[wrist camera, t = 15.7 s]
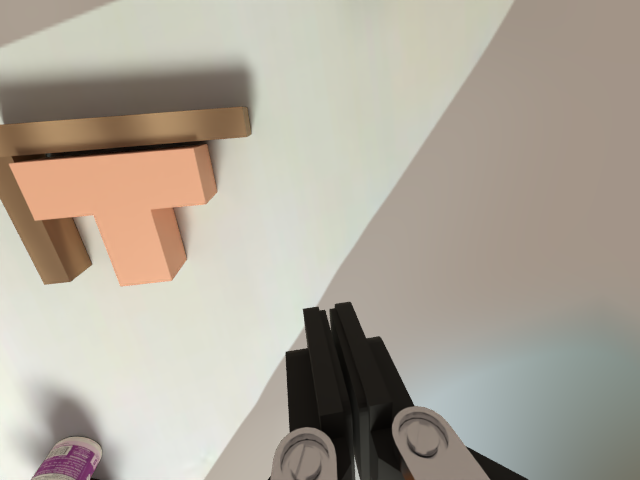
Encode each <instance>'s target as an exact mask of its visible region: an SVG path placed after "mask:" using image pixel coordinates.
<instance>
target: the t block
mask: <svg viewBox="0 0 640 480" xmlns="http://www.w3.org/2000/svg"><path fill="white" fill-rule="evenodd" d="M9 166H10V168H11V170H12V172H13V174H14V177H15V179H16V181H17V183H18V185H19V187H20V190H21V192H22V194H23V196H24V198H25V200H26V203H27V205H28V207H29V209H30V211H31V213H32V215H33V218H34V220H35V221H37V220H47V219H58V218H68V217H79V216H89V215H94V218H95V221H96V223H97V226H98V228H99V231H100V234H101V236H102V239H103V242H104V244H105V247H106V249H107V252H108V255H109V257H110V260H111V263H112V265H113V268H114V271H115V273H116V276H117V278H118V281H119V284H120V286H129V285H138V284H147V283H156V282H164V281H172V280H173V278H174V277H175V275H176V274H177V273H178V271H179V270H180V268H181V267H182V266H183V264H184V263H185V261H186V260H187V258H186V254H185V250H184V247H183V243H182V239H181V236H180V232H179V228H178V224H177V221H176V217H175V213H174V210H173V207H182V206H193V205H203V204H207V203H208V201H209V200H210V199H211V198H212V197H213V196H214V195H215V194H216V193H217V188H216V183H215V179H214V174H213V169H212V164H211V160H210V155H209V150H208V145H207V144H201V145H188V146H176V147H164V148H152V149H140V150H128V151H116V152H104V153H91V154H79V155H67V156H55V157H47V158H41V159H35V160H28V161H22V162H16V163H10V164H9Z"/></svg>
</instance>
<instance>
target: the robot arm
mask: <svg viewBox="0 0 640 480" xmlns="http://www.w3.org/2000/svg"><path fill="white" fill-rule="evenodd" d="M303 314H304V322H305V330H306V338H307V347H308V348H306V349H300V350H294V351H288V352H286V370H287V389H288V409H289V425H290V426H289V428H290V433H289V434H288V435H287V436H286V437H284V438H283V439H282V440H281V442H280V444H279V445H278V447H277V449H276V452H275V455H274V459H273V465H272V473H271V476H270V477H269V479H268V480H355V465H354V456H355V460H356V464H357V469H358V473H359V477H360V480H528V479H526V478H524V477H523V476H521V475H519V474H517V473H515V472H513V471H511V470H509V469H508V468H506V467H504V466H502V465H500V464H498V463H496V462H494V461H493V460H490V459H489V458H487V457H485V456H483V455H481V454H479V453H478V452H476V451H474V450H472V449H470V448H468V447H466V446H465V445H464V444H463V442H462V441H461V440H460V438H459V437H458V435H457V434H456V433H455V431H454V430H453V429H452V427H451V426H450V425H449V424H448V422H447V421H446V420H445V419H444V418H443V417H442V416H441V415H439V414H437V413H436V412H434V411H433V410H430V409H428V408H425V407H418V406H414V404H413V402H412V400H411V398H410V396H409V394H408V392H407V390H406V388H405V386H404V384H403V382H402V379H401V377H400V376H399V373H398V371H397V369H396V367H395V365H394V363H393V361H392V359H391V357H390V355H389V353H388V351H387V349H386V347H385V345H384V342H383V341H382V339H381V338H380V337H379V336H378V337H373V338H366V337H365V335H364V332H363V330H362V328H361V326H360V323H359V320H358V318H357V316H356V313H355V311H354V309H353V306H352V304H351V302H345V303H339V304H335V308H334V309H330V323H331V330H330V326H329V322H328V319H327V315H326V311H325V310H320V311H319V307H312V308H305V309H303Z"/></svg>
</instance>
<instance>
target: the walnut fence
mask: <svg viewBox="0 0 640 480" xmlns="http://www.w3.org/2000/svg"><path fill="white" fill-rule="evenodd" d="M249 135H251V129H250V122H249V116H248V109H247V107H230V108H217V109H204V110H190V111H177V112H164V113H151V114H137V115H124V116H111V117H97V118H84V119H71V120H57V121H44V122H31V123H17V124H4V125H0V199H1V201H2V203H3V205H4V207H5V209H6V210H7V212H8V214H9V216H10V218H11V220H12V222H13V224H14V226H15V228H16V230H17V232H18V234H19V236H20V238H21V240H22V242H23V244H24V246H25V248H26V250H27V252H28V253H29V255H30V257H31V259H32V261H33V263H34V265H35V267H36V269H37V271H38V273H39V275H40V277H41V279H42V281H43V283H44V285H46V284H55V283H64V282H71V281H72V280H73V279H74V278H76V277H77V276H78V275H80V274H81V273H82V272H83V271H85V270H86V269H87V268H89V267H90V266H91V265H92V263H91V261H90V259H89V256H88V254H87V252H86V249H85V247H84V245H83V242H82V240H81V237H80V235H79V233H78V230H77V228H76V226H75V223H74V221H73V219H72V217H68V218H58V219H47V220H37V221H35V220H34V218H33V215H32V213H31V211H30V209H29V207H28V205H27V203H26V200H25V198H24V196H23V194H22V192H21V190H20V187H19V185H18V183H17V181H16V179H15V177H14V174H13V172H12V170H11V168H10V166H9V164H10V163H16V162H22V161H28V160H35V159H41V158H47V157H46V155H45V153H57V152H69V151H81V150H93V149H106V148H118V147H130V146H142V145H154V144H166V143H179V142H191V141H203V140H215V139H227V138H239V137H248V136H249Z"/></svg>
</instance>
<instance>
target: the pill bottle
mask: <svg viewBox="0 0 640 480" xmlns="http://www.w3.org/2000/svg"><path fill="white" fill-rule="evenodd" d="M101 457H102V450H101V447H100V445H99V444H98V443H96V442H95V441H93V440H91V439H89V438H85V437H77V436H76V437H69V438H66V439H63V440H61V441H59V442H58V443H56V445H55V446H54V447H53V449H52V450H51V451H50V453H49V454H48V456H47V457H46V459H45V460H44V462H43V463H42V464H41V466H40V467H39V469H38V470H37V472H36V473H35V475H34V476H33V477H32V479H31V480H90V478H91V476H92V474H93V472H94V471H95V469H96V467H97V465H98V463H99V461H100V459H101Z"/></svg>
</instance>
